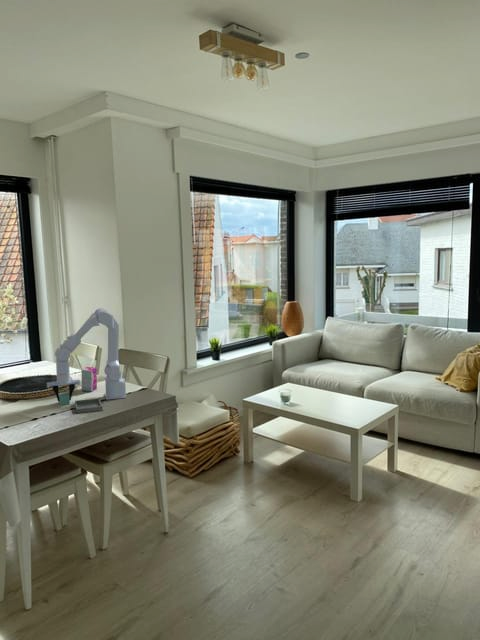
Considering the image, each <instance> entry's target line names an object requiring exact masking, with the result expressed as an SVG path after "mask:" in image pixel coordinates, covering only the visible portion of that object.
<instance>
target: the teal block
mask: <svg viewBox="0 0 480 640" xmlns="http://www.w3.org/2000/svg"><path fill="white" fill-rule="evenodd" d="M70 404H71V400H70V397H69V391H68V392H59V402H58V405H59V406H67V405H70Z"/></svg>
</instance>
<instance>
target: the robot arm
mask: <svg viewBox="0 0 480 640" xmlns="http://www.w3.org/2000/svg"><path fill="white" fill-rule="evenodd" d="M100 325H103V326H105V327H106V328H107V333H108V334H107V360H106V364H105V367H104V374H105V375H106V377H105V393H104V394H103V395H104V398H105V400H115V399H116V400H117V399H124V398H127V391H126V380H125V378H123V377H122V371H121V369H120V362H119V342H120V341H119V339H120V337H119V336H120V335H119V334H120V333H119V332H120V327H119V326H120V324H119V323H118V321H117V320H116V318H115V317H114V315H113V314H112V313H110V312H109V311H107V309H104V308H102V307H101V308H97V309H96V310H95V311H94V312H92V313H91V315H90V316H89V317H88V318H87V320H86V321H85V322H84V323H83V324H82V325H81V327H80V328H79V329H78V330H77V332H75V333H74V334H71V335H68V336H67V337H66V340H65V341H64V342H63V343H62V344H60V346H59V347H58V348H56V349H55V352H54V356H55V357H56V360H55V362H56V363H55V364H56V365H55V366H56V367H55V370H56V381H55V380H54V381H50V382H46V388H47V389H48V388H52V390H53V392H54V394H55V396H56V399H57V402H58V403H59V393H60V392H59V391H60V390H59V387H67V386H68V392H69V397H70V401H72V395H73V392H74V390H75V388H76V385H78V386H80V385H81V380H80V379H71V377H70V375H71V374H70V361H69V359H70V357H71V354H72V353H73V352H74V351H75V349H77V347H78V346H79V345H80V344H81V343H82V338H84V336H85V335H86V334H88V333H89V332H90V330H91V329H92V328H93V327H99V326H100Z"/></svg>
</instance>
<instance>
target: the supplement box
mask: <svg viewBox="0 0 480 640" xmlns="http://www.w3.org/2000/svg"><path fill="white" fill-rule="evenodd" d="M97 371H98V368H97V367H92V366H86V367H83V368H82V369H81V392H87V393H92V392H94V391H95V390H97V388H98V385H97V384H98V382H97V381H98V375H97V374H98V372H97Z"/></svg>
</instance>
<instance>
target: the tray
mask: <svg viewBox="0 0 480 640" xmlns="http://www.w3.org/2000/svg"><path fill="white" fill-rule="evenodd" d="M74 407H75V411H76V412H75V413H76V414H83V413H84V414H85V413H91V412H92V413H93V412H100V411H104V410H103V404H102V402H101V398H99V397H98V398H89V399H82V400H80V399H79V400H74Z"/></svg>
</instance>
